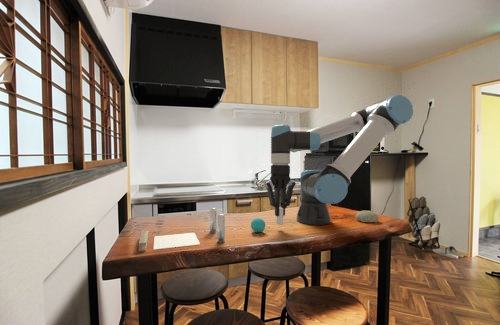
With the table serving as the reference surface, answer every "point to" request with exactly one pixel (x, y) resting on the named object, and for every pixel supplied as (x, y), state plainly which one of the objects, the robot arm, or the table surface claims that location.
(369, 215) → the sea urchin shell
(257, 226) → the ball
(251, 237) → the table surface
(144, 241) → the wall
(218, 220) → the post
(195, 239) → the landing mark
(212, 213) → the post
